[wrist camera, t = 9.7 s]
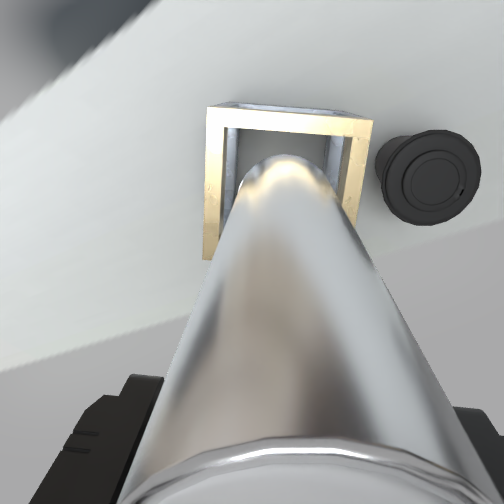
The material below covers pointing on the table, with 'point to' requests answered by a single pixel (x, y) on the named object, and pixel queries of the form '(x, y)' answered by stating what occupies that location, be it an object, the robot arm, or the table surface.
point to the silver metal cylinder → (300, 372)
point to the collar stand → (289, 120)
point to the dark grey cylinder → (428, 176)
